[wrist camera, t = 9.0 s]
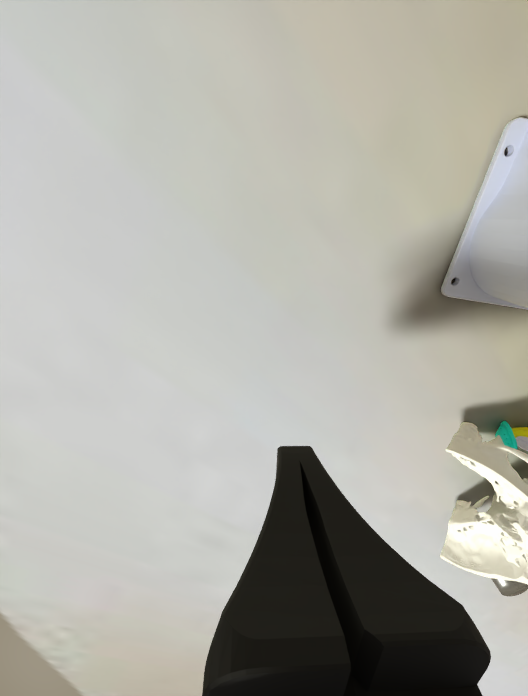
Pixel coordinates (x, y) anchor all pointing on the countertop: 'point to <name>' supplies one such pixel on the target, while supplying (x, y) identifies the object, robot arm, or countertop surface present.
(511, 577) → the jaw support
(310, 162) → the countertop surface
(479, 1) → the countertop surface
